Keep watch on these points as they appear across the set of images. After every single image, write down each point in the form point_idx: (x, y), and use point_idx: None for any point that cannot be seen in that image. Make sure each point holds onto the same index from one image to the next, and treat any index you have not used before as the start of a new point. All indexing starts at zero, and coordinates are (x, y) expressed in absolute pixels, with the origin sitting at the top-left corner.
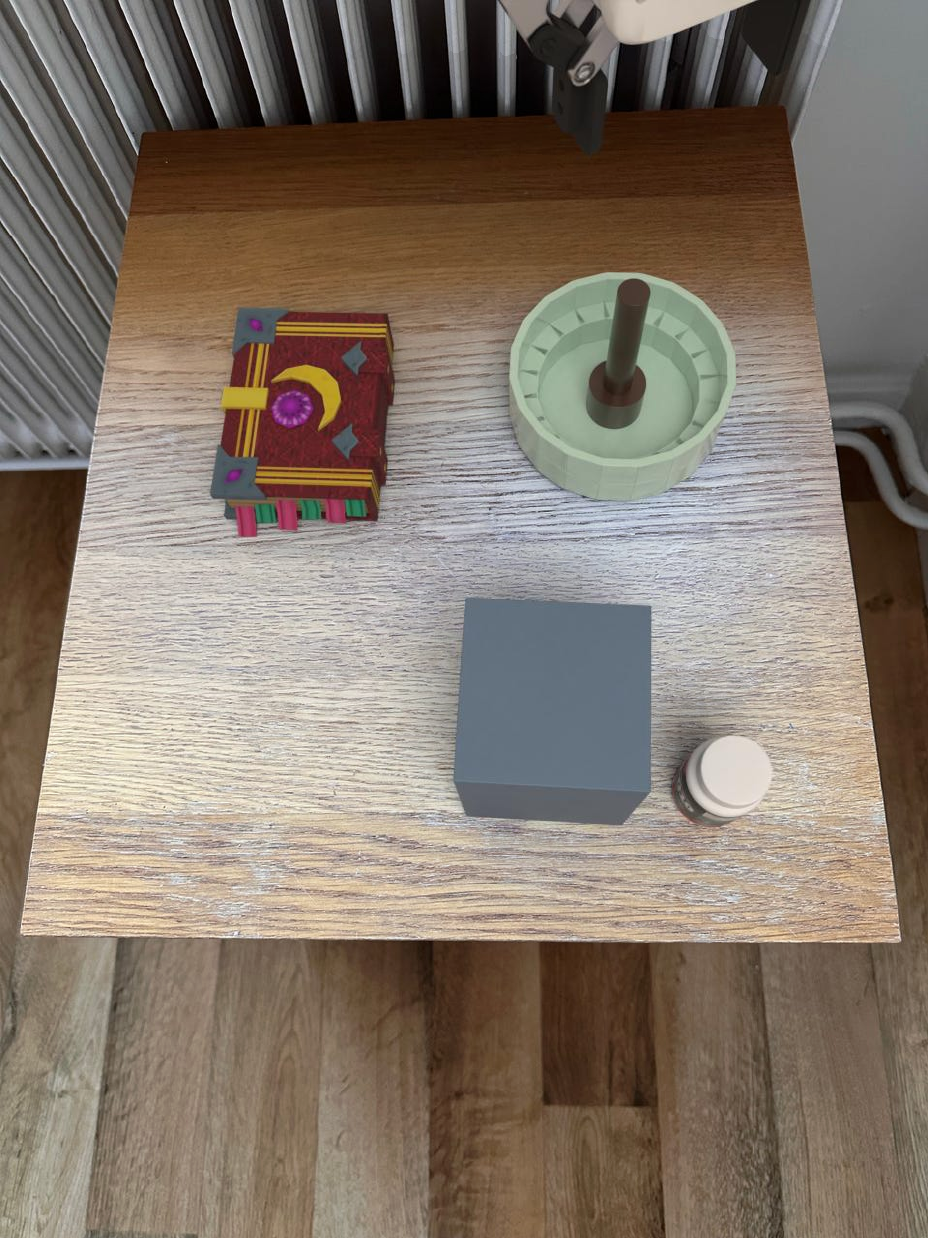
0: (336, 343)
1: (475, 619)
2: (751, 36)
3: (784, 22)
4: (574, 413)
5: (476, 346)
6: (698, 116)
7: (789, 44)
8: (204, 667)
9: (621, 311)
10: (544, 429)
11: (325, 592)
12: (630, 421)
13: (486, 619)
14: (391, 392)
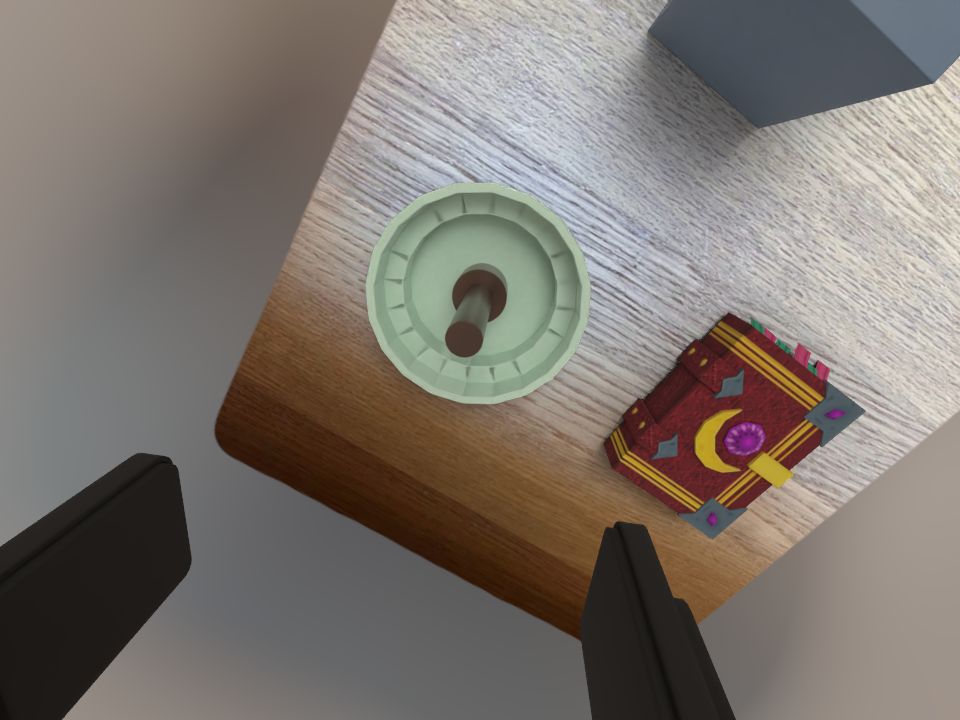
0: (667, 468)
1: (952, 42)
2: (172, 557)
3: (61, 566)
4: (516, 301)
5: (544, 404)
6: (265, 472)
7: (89, 505)
8: (950, 278)
9: (483, 330)
10: (583, 286)
11: (810, 280)
12: (481, 264)
13: (943, 32)
14: (639, 407)
